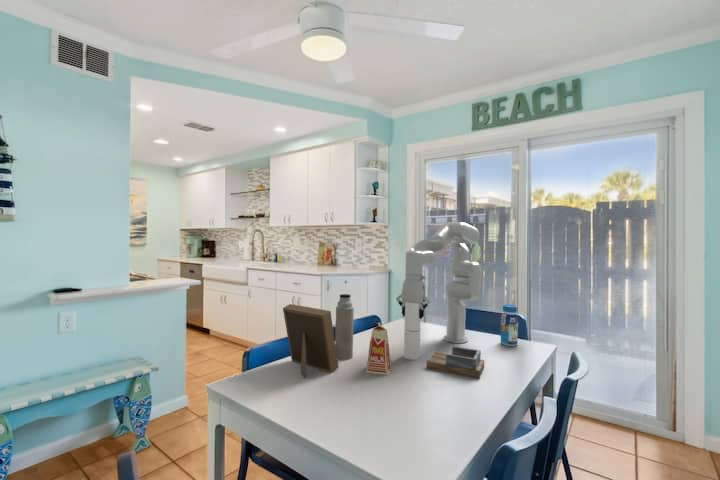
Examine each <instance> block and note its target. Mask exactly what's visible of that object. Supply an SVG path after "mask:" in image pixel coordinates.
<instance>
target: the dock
mask: <svg viewBox="0 0 720 480" xmlns="http://www.w3.org/2000/svg"><path fill="white" fill-rule="evenodd" d="M484 369H485V359H481V350H479V349H473V348H466V347H459V346H452V347H451V354H450V353H443V352H437V351H435V352H434V353H433V354H432V355H431V356H430V357H429V358H428V359H427V361H426V370H432V371H436V372H442V373H447V374H454V375H459V376H464V377H468V378H474V379H480V378H481V376H482V373H483V371H484Z"/></svg>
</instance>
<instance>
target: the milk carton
mask: <svg viewBox="0 0 720 480" xmlns="http://www.w3.org/2000/svg"><path fill="white" fill-rule="evenodd" d="M388 336H389V335H388V330H387V328H385V327H384V326H383V325H382V324H381V322H378V323H377V326H375V327H374V328H372V331H371V336H370V340H369V345H368V347H369V348H368V358H367V364H366V370H365V373H367V374H375V375H383V376H389V374H390V371H391V369H392V368H391V367H392V366H391V354H390V345H389V343H390V342H389V337H388Z"/></svg>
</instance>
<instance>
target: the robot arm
mask: <svg viewBox="0 0 720 480" xmlns="http://www.w3.org/2000/svg"><path fill="white" fill-rule="evenodd" d="M479 240H480V231H479V229H478V228H476V227H474V226H473V225H470V224H468V223H466V222H462V221H461V222H459V221H458V222H457V221H456V222H451V221H450V222H445V223H443V224H442V225H441V226H440V227H439V228H438V229H437V230H436V231H435V233H433V235H431V236H428V237H427V238H424V239H422V240H420V241H418V242H416V243H414V244H413V246H412V247H411V248H410V249H409V250H407V251H406V253H405V274H404V275H405V279H404V280H403V283H402V289H401V294H399V295H398V296H397V297H396V298H395V299H396V301H397V302H398V305H400V307H401V314H402V317H404V318H405V302H409V303H418V304H419V306H420V312H419V318H420V319H421V320H422V319H423V317H424V316H425V309H426V308H427V307H428V306H429V305H430V304H431V303H432V301H431V299H429V298H428V296H426V286H425V282H424V281H423V280H425V279H426V276H425V275H424V274H423V267H426V268H427V267H429V268H430V267H432V266H435V264H436V263H437V260H438V259H437V255H436V253H435V252H439V251H442V250H444V249H445V248H446V247H447V246H448V245H449V244H450V245H451V247H452V251H453V253H452V260H451V261H452V262H451V268H450V269H451V270H450V271H451V272H450V273H451V276H452V277H453V278H455V279H462V280H450V281H448V282H447V284H446V285H445V295H446V334H445V335H444V336H443V337H442V339H443V340H444V341H446V342H448V343H455V344H464V343H467V342H468V341H469V339H468V337H466V309H467V308H466V305H465V303H464V301H469V302H470V301H471V302H475V301H477V300H478V299H479V298H480V297H479V296H480V291H481V286H482V285H481V284H482V275H483V269H482V266H481V264H480V263H479V262H477V261H470V255H471V254H470V250H469V247H468V246H467V245H468V244H469V245H473V244H477V243H478V242H479ZM463 280H469V281H463ZM425 302H426V303H425ZM424 303H425V304H424Z"/></svg>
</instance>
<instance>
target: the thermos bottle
mask: <svg viewBox="0 0 720 480" xmlns="http://www.w3.org/2000/svg"><path fill="white" fill-rule="evenodd" d="M351 297H352V296H351V294H349V293H348V294H347V293H343V294H339V301H338V302H337V306H336V307H335V331H334V334H335V335H334V340H335V347H336V354H337V360H345V361H346V360H351V359H352V358H354V357H353V356H354V318H355V317H354V313H355V312H354V311H355V310H354V306H353V302H352V301H351Z"/></svg>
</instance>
